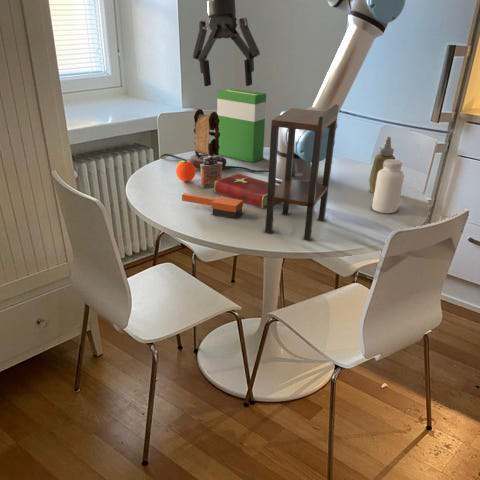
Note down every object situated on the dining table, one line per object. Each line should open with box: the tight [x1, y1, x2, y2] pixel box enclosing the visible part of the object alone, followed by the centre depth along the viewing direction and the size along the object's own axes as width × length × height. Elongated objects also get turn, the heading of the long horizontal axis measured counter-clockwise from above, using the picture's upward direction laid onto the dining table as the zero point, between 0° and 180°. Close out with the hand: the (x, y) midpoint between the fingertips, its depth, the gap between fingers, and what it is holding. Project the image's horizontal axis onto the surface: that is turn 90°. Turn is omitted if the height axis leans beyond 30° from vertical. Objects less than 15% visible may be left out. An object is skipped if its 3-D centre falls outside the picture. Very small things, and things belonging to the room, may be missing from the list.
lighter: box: [200, 155, 223, 189], centre depth 175 cm, size 8×3×10 cm, turn 117°
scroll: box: [187, 108, 227, 169], centre depth 190 cm, size 15×15×20 cm
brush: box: [181, 192, 244, 220], centre depth 157 cm, size 19×6×4 cm, turn 68°
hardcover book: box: [213, 173, 280, 209], centre depth 169 cm, size 12×21×4 cm, turn 49°
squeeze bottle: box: [368, 136, 396, 194], centre depth 171 cm, size 8×8×18 cm
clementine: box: [175, 160, 196, 182], centre depth 179 cm, size 8×7×7 cm
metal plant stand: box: [264, 105, 339, 241], centre depth 141 cm, size 13×17×32 cm
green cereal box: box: [216, 87, 267, 163], centre depth 202 cm, size 18×7×24 cm, turn 55°
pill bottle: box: [371, 158, 405, 214], centre depth 158 cm, size 8×8×15 cm
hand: (228, 85), depth 150 cm, fingers open, 13 cm apart
